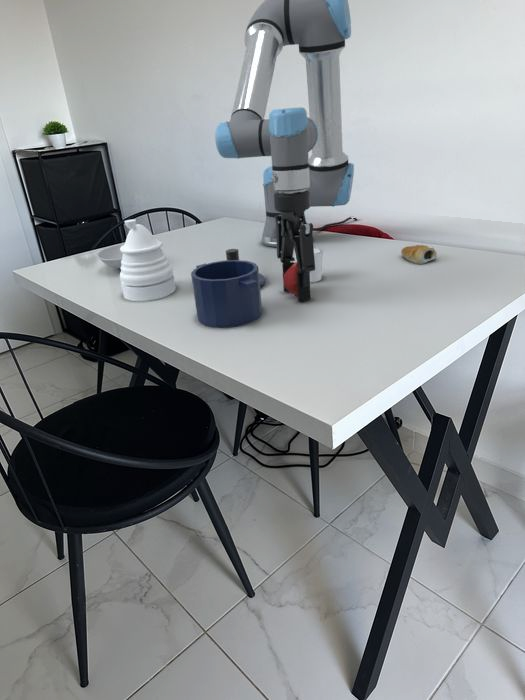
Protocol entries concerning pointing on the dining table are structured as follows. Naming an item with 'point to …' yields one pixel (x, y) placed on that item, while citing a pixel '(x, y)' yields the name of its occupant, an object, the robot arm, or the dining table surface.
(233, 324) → the pot
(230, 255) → the lid
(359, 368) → the dining table surface
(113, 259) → the dish
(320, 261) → the white tapered cylinder
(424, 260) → the pastry
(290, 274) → the onion
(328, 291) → the dining table surface
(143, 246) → the honey pot
